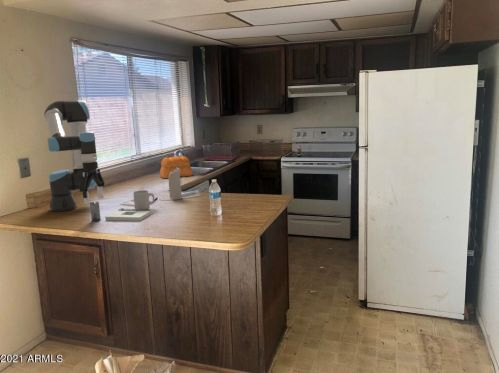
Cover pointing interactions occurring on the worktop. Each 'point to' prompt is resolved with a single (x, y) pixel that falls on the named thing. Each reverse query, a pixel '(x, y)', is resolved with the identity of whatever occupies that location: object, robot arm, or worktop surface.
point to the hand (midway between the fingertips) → (94, 201)
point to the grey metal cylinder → (95, 211)
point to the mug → (142, 199)
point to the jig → (129, 214)
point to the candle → (174, 185)
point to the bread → (175, 166)
